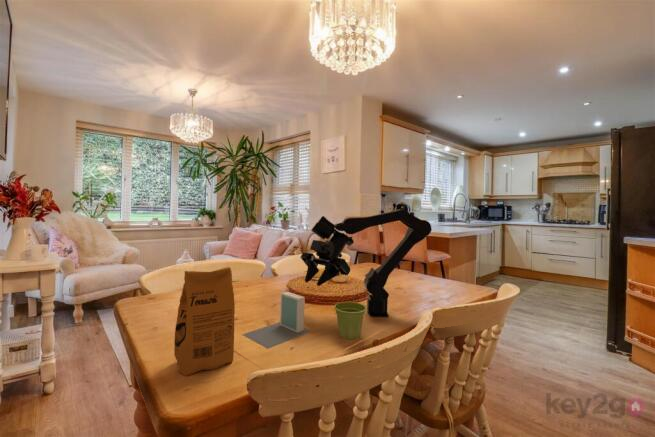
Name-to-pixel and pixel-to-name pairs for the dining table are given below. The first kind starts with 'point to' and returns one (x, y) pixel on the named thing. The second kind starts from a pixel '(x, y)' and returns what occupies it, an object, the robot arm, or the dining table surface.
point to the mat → (273, 335)
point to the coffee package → (205, 321)
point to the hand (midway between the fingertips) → (311, 283)
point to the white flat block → (292, 311)
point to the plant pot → (350, 319)
